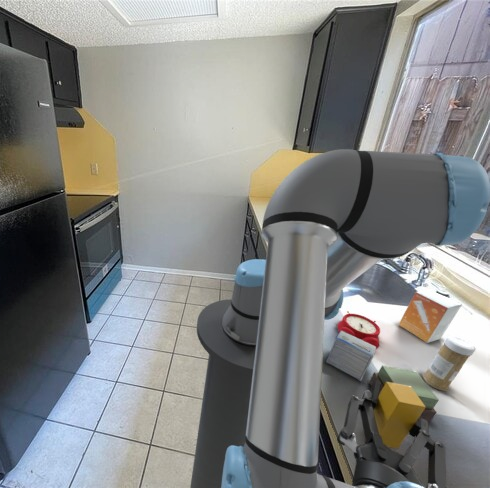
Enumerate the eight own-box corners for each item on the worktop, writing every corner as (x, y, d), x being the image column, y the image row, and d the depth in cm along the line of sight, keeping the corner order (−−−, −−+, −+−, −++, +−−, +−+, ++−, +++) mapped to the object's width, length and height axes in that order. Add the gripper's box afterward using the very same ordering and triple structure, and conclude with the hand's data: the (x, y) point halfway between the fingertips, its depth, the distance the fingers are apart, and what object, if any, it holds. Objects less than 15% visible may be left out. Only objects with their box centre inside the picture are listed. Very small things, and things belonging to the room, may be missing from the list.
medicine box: (364, 371, 66) (377, 346, 62) (360, 382, 63) (373, 356, 59) (330, 353, 71) (340, 329, 67) (325, 362, 68) (335, 337, 65)
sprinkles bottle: (452, 393, 61) (482, 351, 56) (430, 389, 62) (458, 347, 57) (438, 376, 65) (465, 336, 60) (417, 373, 66) (442, 332, 61)
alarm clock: (382, 320, 79) (388, 340, 67) (374, 338, 80) (379, 360, 68) (342, 307, 84) (341, 322, 72) (336, 324, 86) (334, 342, 74)
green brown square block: (368, 382, 63) (378, 363, 61) (406, 389, 62) (417, 370, 59) (386, 414, 56) (398, 394, 53) (429, 423, 55) (444, 403, 52)
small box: (397, 325, 83) (414, 291, 77) (411, 321, 85) (428, 288, 79) (427, 343, 76) (448, 307, 70) (441, 339, 78) (463, 304, 72)
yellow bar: (363, 422, 52) (386, 381, 48) (385, 427, 52) (410, 386, 47) (373, 443, 49) (399, 401, 44) (397, 449, 48) (426, 407, 43)
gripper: (305, 468, 43) (336, 379, 58) (467, 593, 31) (450, 441, 47) (318, 441, 39) (346, 355, 55) (502, 569, 28) (472, 414, 44)
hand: (394, 394), depth 51 cm, fingers closed on yellow bar, 5 cm apart
